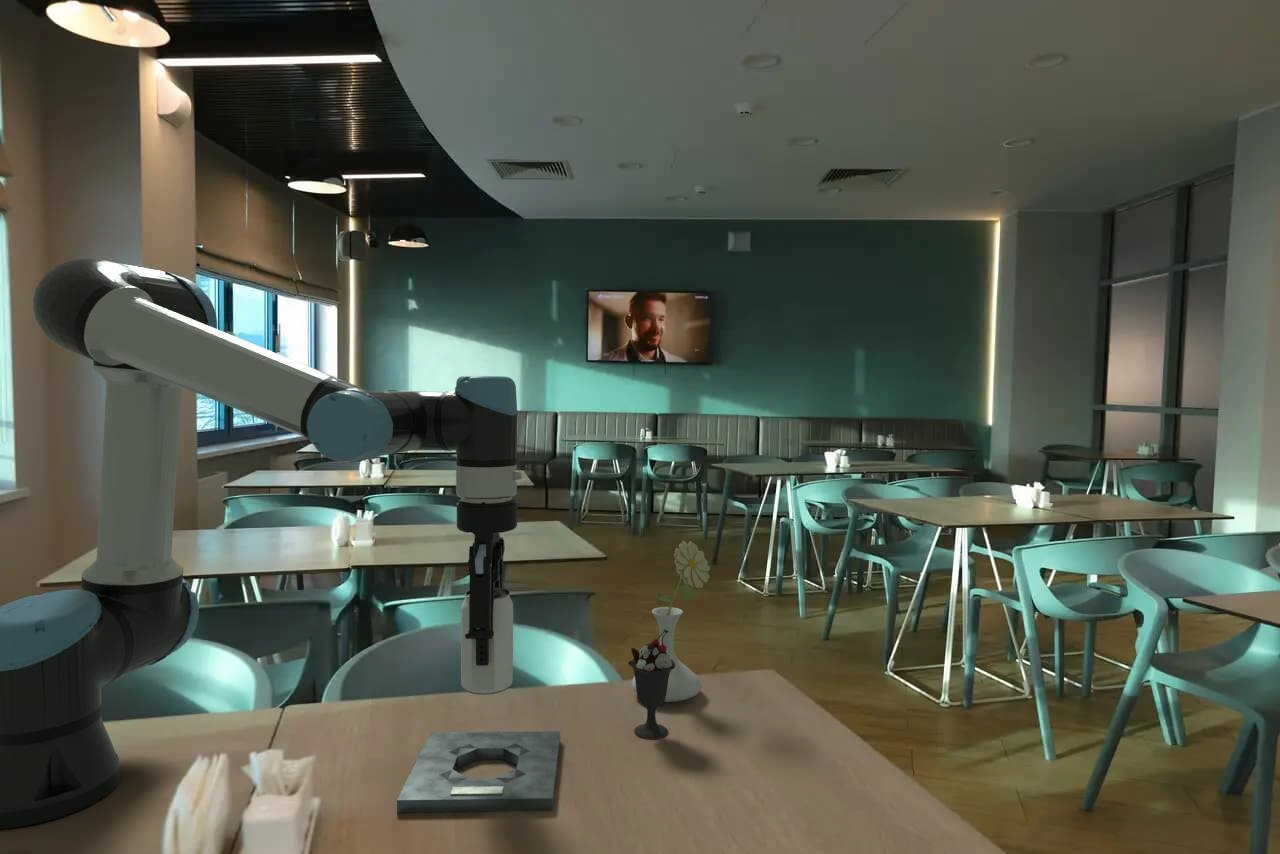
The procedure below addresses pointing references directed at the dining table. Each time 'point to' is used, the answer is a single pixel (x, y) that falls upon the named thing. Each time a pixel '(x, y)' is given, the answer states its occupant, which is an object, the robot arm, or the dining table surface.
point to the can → (502, 643)
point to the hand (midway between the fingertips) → (487, 678)
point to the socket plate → (513, 791)
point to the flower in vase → (693, 573)
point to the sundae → (651, 684)
